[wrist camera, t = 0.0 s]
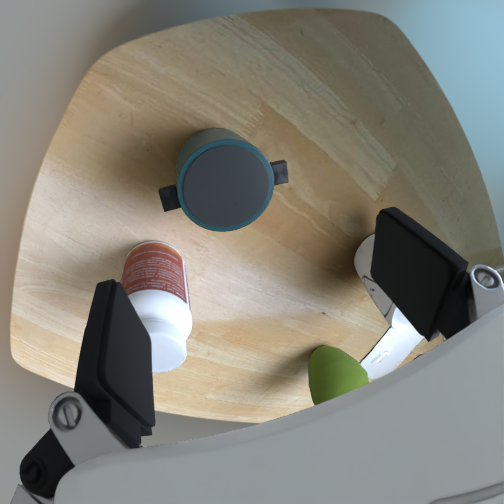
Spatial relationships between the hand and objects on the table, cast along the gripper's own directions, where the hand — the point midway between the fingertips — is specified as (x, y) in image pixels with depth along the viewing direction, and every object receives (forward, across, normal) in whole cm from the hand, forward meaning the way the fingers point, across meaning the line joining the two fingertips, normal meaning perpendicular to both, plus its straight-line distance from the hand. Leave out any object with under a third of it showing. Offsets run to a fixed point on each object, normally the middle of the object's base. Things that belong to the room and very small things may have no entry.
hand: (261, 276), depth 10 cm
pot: (+16, -1, +1) cm, 16 cm away
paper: (+16, -30, +41) cm, 53 cm away
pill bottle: (+17, +7, +9) cm, 20 cm away
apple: (+17, -11, +32) cm, 37 cm away
